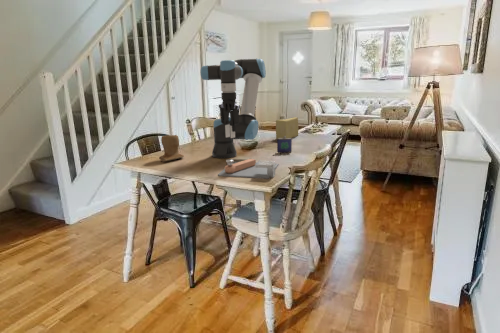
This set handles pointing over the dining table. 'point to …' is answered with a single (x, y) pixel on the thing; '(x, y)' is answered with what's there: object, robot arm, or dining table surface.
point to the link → (240, 165)
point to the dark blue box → (284, 145)
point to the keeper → (269, 165)
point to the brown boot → (170, 148)
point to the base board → (248, 172)
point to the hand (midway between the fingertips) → (230, 137)
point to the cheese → (287, 128)
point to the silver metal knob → (229, 162)
